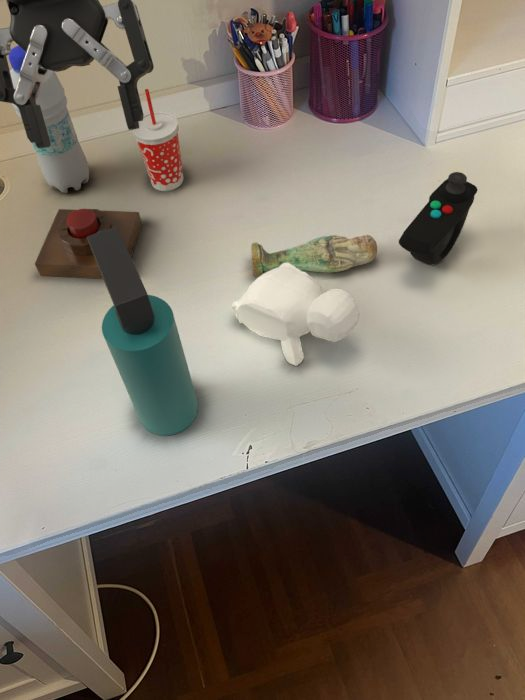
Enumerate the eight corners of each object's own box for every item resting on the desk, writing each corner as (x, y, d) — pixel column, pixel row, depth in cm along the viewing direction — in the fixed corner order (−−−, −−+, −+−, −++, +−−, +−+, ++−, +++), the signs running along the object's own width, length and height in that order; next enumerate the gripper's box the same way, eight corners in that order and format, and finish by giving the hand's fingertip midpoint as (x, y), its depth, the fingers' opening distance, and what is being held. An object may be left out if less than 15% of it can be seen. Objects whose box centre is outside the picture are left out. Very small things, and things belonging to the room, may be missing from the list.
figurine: (254, 247, 84) (252, 225, 81) (375, 247, 82) (377, 224, 79) (251, 279, 80) (249, 257, 77) (377, 279, 79) (379, 257, 76)
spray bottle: (206, 421, 69) (173, 296, 53) (149, 445, 68) (97, 324, 52) (172, 345, 75) (133, 213, 59) (119, 365, 74) (64, 236, 58)
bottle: (102, 183, 93) (57, 48, 77) (60, 204, 91) (4, 70, 75) (80, 160, 97) (33, 26, 81) (39, 180, 95) (-18, 47, 78)
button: (67, 238, 82) (62, 228, 80) (75, 218, 84) (71, 208, 82) (94, 239, 81) (90, 229, 80) (102, 219, 83) (98, 209, 82)
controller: (470, 235, 82) (486, 170, 74) (420, 297, 77) (432, 234, 69) (439, 222, 84) (452, 157, 76) (389, 281, 79) (396, 219, 71)
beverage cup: (140, 175, 94) (115, 85, 83) (179, 161, 95) (161, 71, 84) (154, 200, 90) (130, 110, 79) (195, 185, 92) (178, 94, 80)
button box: (40, 275, 83) (29, 253, 80) (63, 221, 89) (54, 198, 86) (124, 279, 82) (116, 257, 79) (142, 224, 88) (135, 201, 84)
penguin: (242, 350, 78) (341, 381, 68) (213, 295, 73) (317, 320, 63) (285, 304, 82) (386, 328, 71) (261, 249, 77) (366, 266, 66)
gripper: (-66, -54, 52) (-1, 155, 57) (108, -94, 51) (158, 122, 56) (-26, -32, 59) (28, 152, 64) (127, -67, 58) (170, 123, 63)
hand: (89, 138), depth 60 cm, fingers open, 8 cm apart
